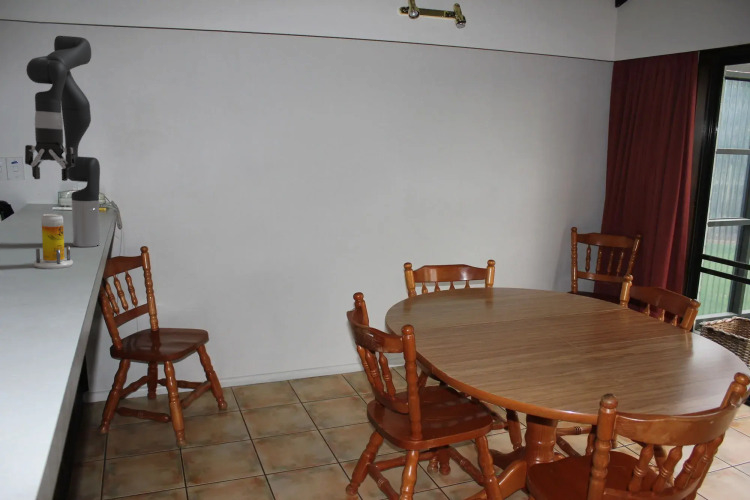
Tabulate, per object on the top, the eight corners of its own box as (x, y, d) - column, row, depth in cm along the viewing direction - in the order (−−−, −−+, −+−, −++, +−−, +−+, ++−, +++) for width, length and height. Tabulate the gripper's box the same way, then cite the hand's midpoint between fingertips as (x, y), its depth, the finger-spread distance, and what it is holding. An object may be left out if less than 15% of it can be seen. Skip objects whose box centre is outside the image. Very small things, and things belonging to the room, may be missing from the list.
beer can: (58, 263, 188) (56, 216, 185) (39, 262, 188) (37, 215, 186) (68, 260, 194) (66, 214, 191) (50, 258, 194) (48, 213, 192)
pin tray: (45, 260, 197) (44, 243, 196) (79, 262, 197) (78, 245, 196) (26, 267, 186) (26, 249, 185) (62, 269, 186) (61, 251, 185)
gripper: (78, 128, 187) (79, 180, 190) (32, 126, 187) (34, 177, 190) (66, 128, 180) (68, 182, 183) (18, 125, 180) (21, 179, 183)
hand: (50, 179), depth 186 cm, fingers open, 8 cm apart
